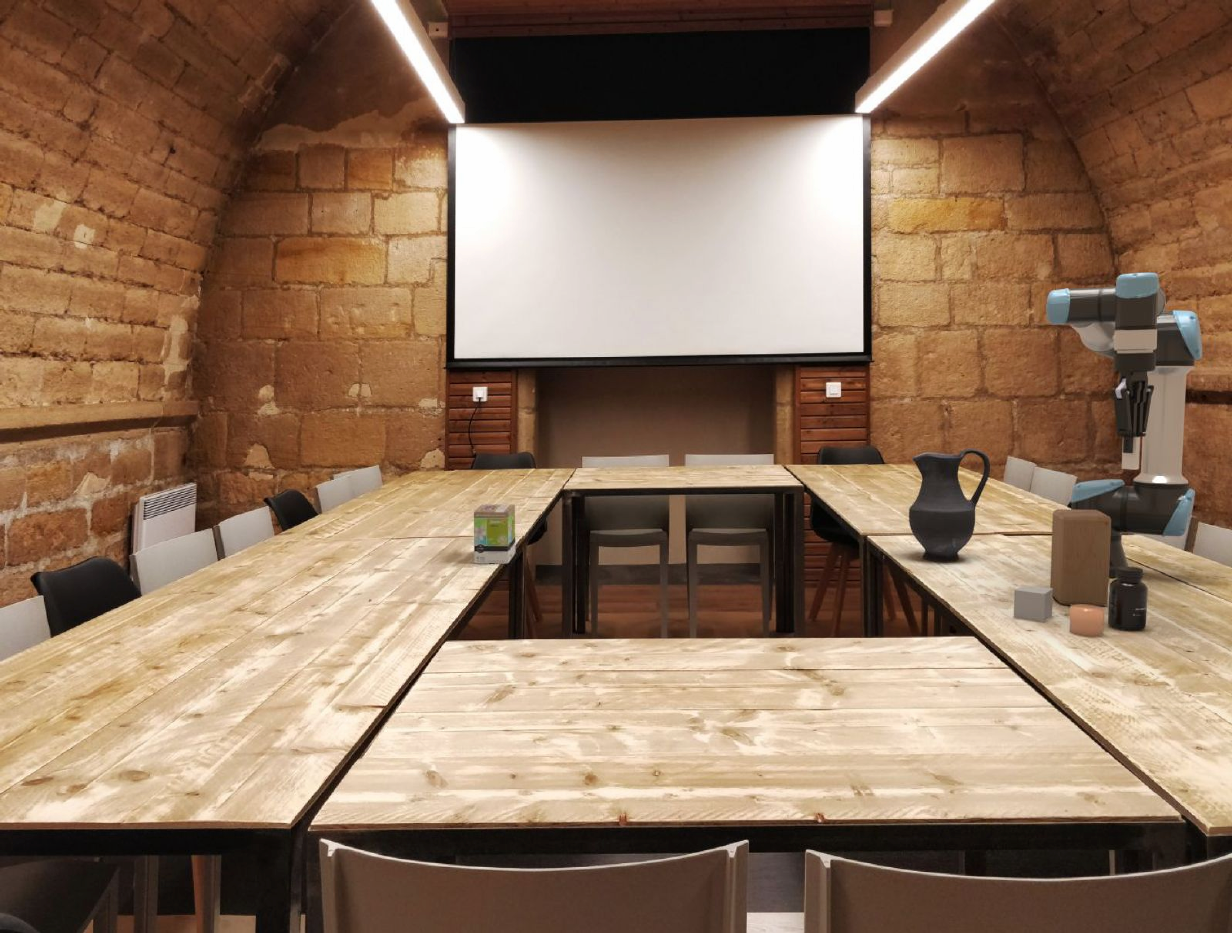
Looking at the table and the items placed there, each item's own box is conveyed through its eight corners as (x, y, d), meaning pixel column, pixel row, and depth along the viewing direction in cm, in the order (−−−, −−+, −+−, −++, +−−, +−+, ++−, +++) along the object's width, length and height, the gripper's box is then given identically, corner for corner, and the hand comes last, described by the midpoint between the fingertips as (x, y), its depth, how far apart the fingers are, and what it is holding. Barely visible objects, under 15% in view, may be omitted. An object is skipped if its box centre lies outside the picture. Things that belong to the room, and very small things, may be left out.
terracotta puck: (1079, 626, 195) (1080, 602, 194) (1109, 633, 190) (1110, 608, 189) (1063, 632, 191) (1064, 607, 191) (1093, 638, 186) (1094, 613, 186)
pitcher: (903, 552, 273) (905, 446, 269) (980, 552, 270) (983, 446, 267) (913, 564, 256) (916, 452, 252) (995, 565, 253) (998, 451, 250)
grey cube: (1022, 612, 207) (1023, 584, 206) (1052, 616, 203) (1053, 588, 202) (1013, 617, 202) (1014, 589, 202) (1043, 622, 198) (1044, 593, 198)
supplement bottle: (1144, 633, 189) (1147, 573, 188) (1106, 628, 193) (1108, 569, 192) (1147, 625, 195) (1149, 566, 194) (1109, 620, 199) (1111, 563, 197)
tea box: (510, 564, 264) (508, 510, 263) (473, 564, 265) (471, 511, 263) (516, 553, 279) (515, 502, 278) (481, 553, 280) (480, 503, 278)
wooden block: (1109, 607, 209) (1112, 516, 207) (1059, 605, 211) (1062, 515, 209) (1095, 596, 219) (1099, 509, 217) (1048, 594, 221) (1051, 508, 219)
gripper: (1131, 350, 199) (1127, 464, 202) (1099, 353, 192) (1095, 470, 195) (1169, 350, 193) (1164, 467, 196) (1138, 352, 186) (1133, 473, 189)
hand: (1130, 468), depth 196 cm, fingers closed
